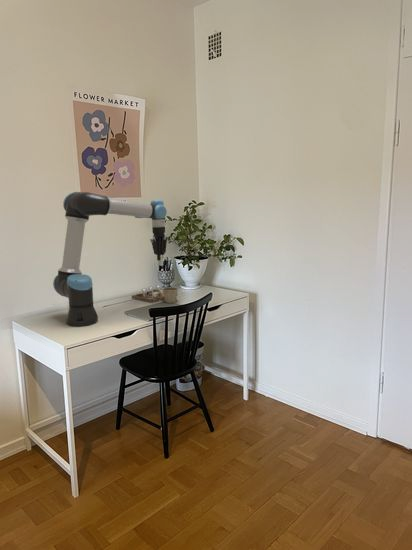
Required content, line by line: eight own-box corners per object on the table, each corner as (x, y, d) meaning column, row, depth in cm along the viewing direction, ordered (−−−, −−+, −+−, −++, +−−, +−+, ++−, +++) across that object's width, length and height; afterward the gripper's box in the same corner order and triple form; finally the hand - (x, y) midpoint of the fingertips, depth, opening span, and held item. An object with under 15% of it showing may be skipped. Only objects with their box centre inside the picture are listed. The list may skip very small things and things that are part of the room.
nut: (158, 297, 254) (158, 293, 254) (152, 297, 256) (152, 293, 255) (163, 295, 259) (162, 292, 258) (156, 295, 260) (156, 291, 260)
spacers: (155, 301, 246) (154, 293, 245) (137, 297, 254) (137, 289, 253) (174, 295, 259) (174, 287, 258) (157, 292, 268) (157, 284, 267)
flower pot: (159, 303, 246) (158, 288, 245) (172, 300, 253) (171, 286, 251) (168, 306, 239) (168, 291, 238) (181, 303, 246) (181, 288, 244)
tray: (152, 304, 243) (151, 299, 242) (131, 300, 253) (131, 295, 252) (177, 297, 260) (177, 292, 259) (157, 293, 270) (157, 289, 269)
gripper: (155, 227, 244) (157, 267, 248) (170, 225, 253) (172, 264, 258) (146, 227, 248) (148, 266, 253) (161, 225, 258) (163, 263, 263)
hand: (160, 265), depth 256 cm, fingers closed
